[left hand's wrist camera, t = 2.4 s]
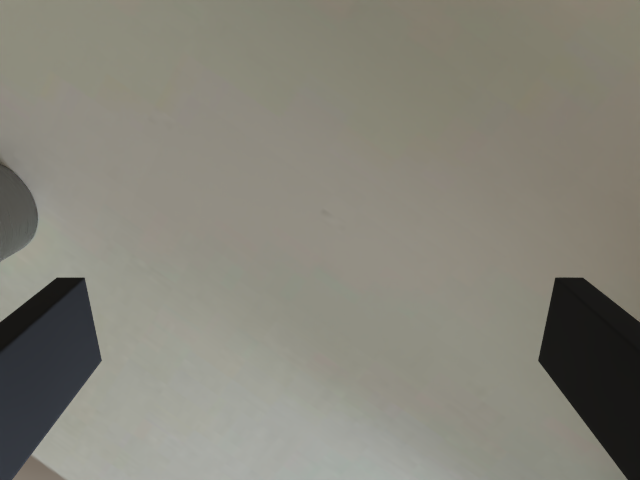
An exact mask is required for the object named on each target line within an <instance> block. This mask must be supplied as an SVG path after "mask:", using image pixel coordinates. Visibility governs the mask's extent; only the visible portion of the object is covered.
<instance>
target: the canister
mask: <svg viewBox="0 0 640 480" xmlns="http://www.w3.org/2000/svg"><path fill="white" fill-rule="evenodd" d="M37 221H38V217H37V209H36V205H35V202H34V199H33V197H32V195H31V193H30V191H29V190H28V188H27V186H26V185H25V184H24V183H23V181H22V180H21V179H20V178H19V177H18V176H17V175H16V174H15V173H13V172H12V171H11V170H9V169H8V168H7V167H5V166H3V165H1V164H0V262H1V261H2V260H4V259H6V258H7V257H9V256H11V255H12V254H14V253H16V252H17V251H19V250H21V249H22V248H24V247H25V246H26V245H27V244H28V243H29V242H30V241H31V239H32V238H33V236H34V234H35V231H36V227H37Z"/></svg>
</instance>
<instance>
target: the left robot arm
mask: <svg viewBox="0 0 640 480" xmlns="http://www.w3.org/2000/svg"><path fill="white" fill-rule="evenodd" d="M101 361H102V360H101V355H100V350H99V345H98V340H97V336H96V331H95V326H94V321H93V316H92V311H91V307H90V302H89V297H88V292H87V287H86V282H85V278H56V279H55V280H53V281H52V282H51V283H50V284H48V285H47V286H46V287H45V288H43V289H42V290H41V291H40V292H38V293H37V294H36V295H34V296H33V297H32V298H31V299H29V300H28V301H27V302H26V303H24V304H23V305H22V306H20V307H19V308H18V309H17V310H15V311H14V312H13V313H12V314H10V315H9V316H8V317H6V318H5V319H4V320H3V321H1V322H0V480H12V479H13V478H14V476H15V475H16V474H17V472H18V471H19V470H20V469H21V467H22V466H23V464H24V463H25V462H26V460H27V459H28V458H29V456H30V455H31V454H32V453H33V451H34V450H35V449H36V447H37V446H38V445H39V443H40V442H41V441H42V439H43V438H44V437H45V435H46V434H47V433H48V431H49V430H50V429H51V427H52V426H53V425H54V423H55V422H56V421H57V419H58V418H59V417H60V415H61V414H62V413H63V411H64V410H65V409H66V407H67V406H68V405H69V403H70V402H71V401H72V399H73V398H74V397H75V395H76V394H77V393H78V392H79V390H80V389H81V388H82V386H83V385H84V384H85V382H86V381H87V380H88V378H89V377H90V376H91V374H92V373H93V372H94V370H95V369H96V368H97V366H98V365H99V364H100V362H101ZM538 361H539V362H540V364H541V365H542V366H543V368H544V369H545V370H546V372H547V373H548V374H549V376H550V377H551V378H552V380H553V381H554V382H555V384H556V385H557V386H558V388H559V389H560V390H561V392H562V393H563V394H564V395H565V397H566V398H567V399H568V401H569V402H570V403H571V405H572V406H573V407H574V409H575V410H576V411H577V413H578V414H579V415H580V417H581V418H582V419H583V421H584V422H585V423H586V425H587V426H588V427H589V429H590V430H591V431H592V433H593V434H594V435H595V437H596V438H597V439H598V441H599V442H600V443H601V445H602V446H603V447H604V449H605V450H606V451H607V453H608V454H609V455H610V457H611V458H612V459H613V461H614V462H615V463H616V465H617V466H618V467H619V469H620V470H621V471H622V473H623V474H624V475H625V476H626V478H627V479H628V480H640V322H639V321H637V320H636V319H635V318H634V317H632V316H631V315H630V314H628V313H627V312H626V311H625V310H623V309H622V308H621V307H620V306H618V305H617V304H616V303H614V302H613V301H612V300H611V299H609V298H608V297H607V296H606V295H604V294H603V293H602V292H600V291H599V290H598V289H597V288H595V287H594V286H593V285H592V284H590V283H589V282H588V281H587V280H585V279H584V278H555V282H554V287H553V292H552V297H551V302H550V307H549V311H548V316H547V321H546V326H545V331H544V336H543V340H542V345H541V350H540V355H539V360H538Z"/></svg>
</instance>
